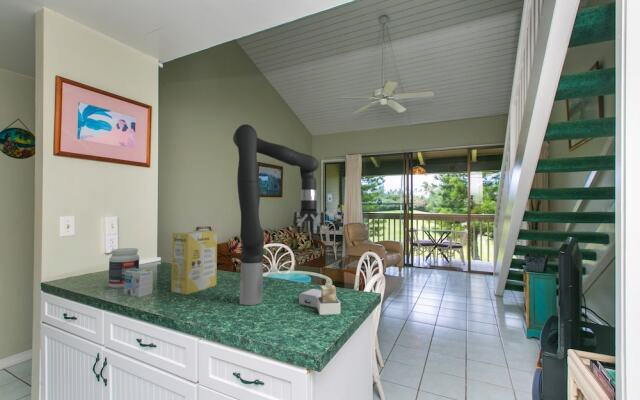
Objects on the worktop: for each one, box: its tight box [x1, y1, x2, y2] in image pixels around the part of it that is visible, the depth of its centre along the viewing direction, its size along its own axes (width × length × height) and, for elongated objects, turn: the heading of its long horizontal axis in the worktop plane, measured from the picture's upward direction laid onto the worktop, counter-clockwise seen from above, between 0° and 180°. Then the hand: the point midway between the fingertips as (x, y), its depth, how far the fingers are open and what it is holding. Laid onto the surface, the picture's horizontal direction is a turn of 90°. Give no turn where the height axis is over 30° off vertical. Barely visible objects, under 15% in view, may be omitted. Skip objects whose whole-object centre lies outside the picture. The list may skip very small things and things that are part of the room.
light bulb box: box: [123, 268, 154, 298], centre depth 137 cm, size 11×7×11 cm, turn 68°
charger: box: [298, 288, 321, 308], centre depth 128 cm, size 5×9×15 cm
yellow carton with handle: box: [170, 229, 218, 295], centre depth 147 cm, size 18×10×28 cm, turn 155°
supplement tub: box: [108, 247, 140, 289], centre depth 151 cm, size 13×13×18 cm
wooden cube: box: [320, 284, 337, 302], centre depth 116 cm, size 5×5×5 cm
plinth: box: [316, 296, 341, 316], centre depth 116 cm, size 8×8×4 cm
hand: (308, 234), depth 138 cm, fingers open, 8 cm apart
